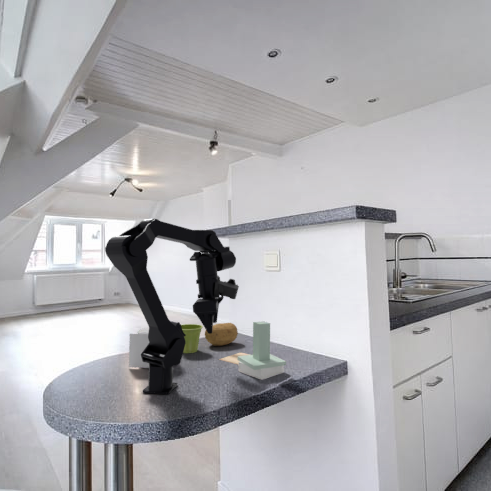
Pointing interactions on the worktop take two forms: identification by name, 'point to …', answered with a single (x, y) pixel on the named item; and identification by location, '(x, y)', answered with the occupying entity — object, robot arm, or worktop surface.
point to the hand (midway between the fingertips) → (212, 327)
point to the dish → (260, 371)
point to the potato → (222, 334)
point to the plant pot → (191, 337)
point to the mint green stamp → (261, 349)
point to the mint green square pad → (233, 358)
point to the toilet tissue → (138, 348)
